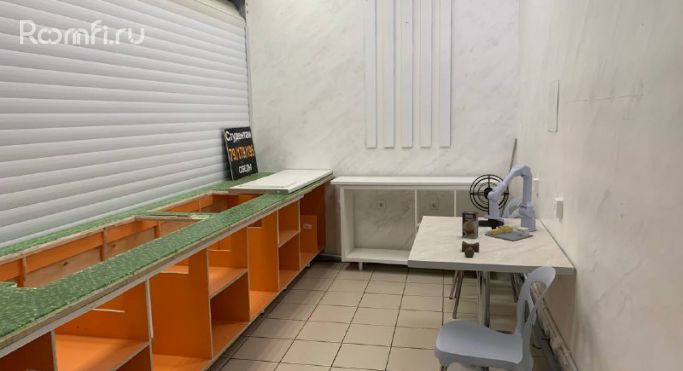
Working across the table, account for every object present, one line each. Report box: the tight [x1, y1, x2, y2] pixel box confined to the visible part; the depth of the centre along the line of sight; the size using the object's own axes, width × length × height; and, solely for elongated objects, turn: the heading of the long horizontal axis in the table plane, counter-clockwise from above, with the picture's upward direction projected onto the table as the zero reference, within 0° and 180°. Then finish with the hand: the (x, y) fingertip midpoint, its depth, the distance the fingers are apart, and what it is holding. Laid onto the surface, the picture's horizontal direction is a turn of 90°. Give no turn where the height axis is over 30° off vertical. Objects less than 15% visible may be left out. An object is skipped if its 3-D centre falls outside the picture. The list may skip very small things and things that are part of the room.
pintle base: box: [484, 224, 534, 242], centre depth 317 cm, size 19×22×5 cm
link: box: [489, 225, 514, 235], centre depth 322 cm, size 16×6×3 cm, turn 123°
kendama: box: [461, 240, 480, 258], centre depth 283 cm, size 6×10×20 cm
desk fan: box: [469, 173, 511, 227], centre depth 351 cm, size 27×18×35 cm, turn 75°
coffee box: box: [461, 211, 479, 240], centre depth 318 cm, size 9×6×16 cm
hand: (493, 230), depth 325 cm, fingers closed
